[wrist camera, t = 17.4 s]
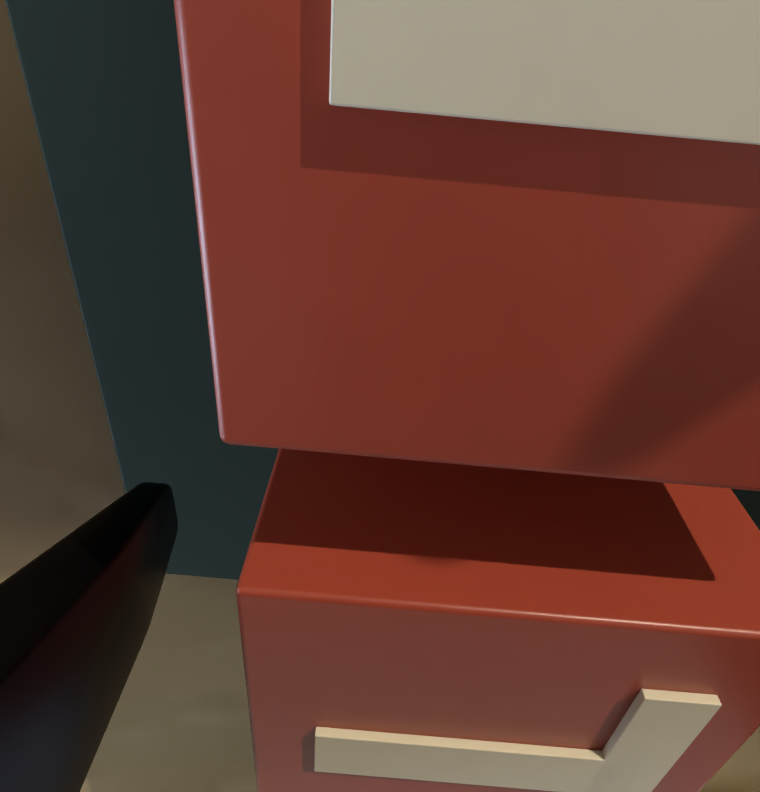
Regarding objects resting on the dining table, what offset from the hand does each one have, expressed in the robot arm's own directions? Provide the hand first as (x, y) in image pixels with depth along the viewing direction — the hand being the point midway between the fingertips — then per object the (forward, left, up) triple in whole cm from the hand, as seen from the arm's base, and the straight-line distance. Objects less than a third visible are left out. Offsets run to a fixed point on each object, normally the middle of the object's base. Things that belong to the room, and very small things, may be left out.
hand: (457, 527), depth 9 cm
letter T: (0, 0, -1) cm, 1 cm away
